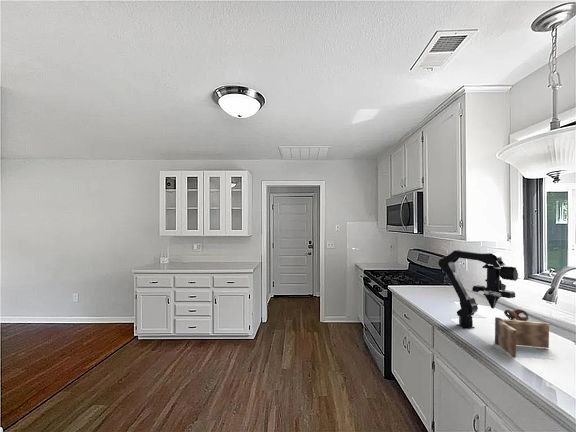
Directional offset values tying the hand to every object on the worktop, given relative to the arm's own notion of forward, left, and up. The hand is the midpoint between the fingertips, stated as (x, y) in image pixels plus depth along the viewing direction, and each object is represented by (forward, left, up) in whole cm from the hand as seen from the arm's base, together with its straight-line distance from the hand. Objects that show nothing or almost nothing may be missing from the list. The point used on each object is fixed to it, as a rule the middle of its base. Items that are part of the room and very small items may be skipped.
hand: (492, 308), depth 176 cm
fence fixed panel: (+20, -12, -13) cm, 27 cm away
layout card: (+22, -6, -13) cm, 26 cm away
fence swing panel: (+18, +1, -12) cm, 22 cm away
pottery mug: (-17, +31, -13) cm, 38 cm away
